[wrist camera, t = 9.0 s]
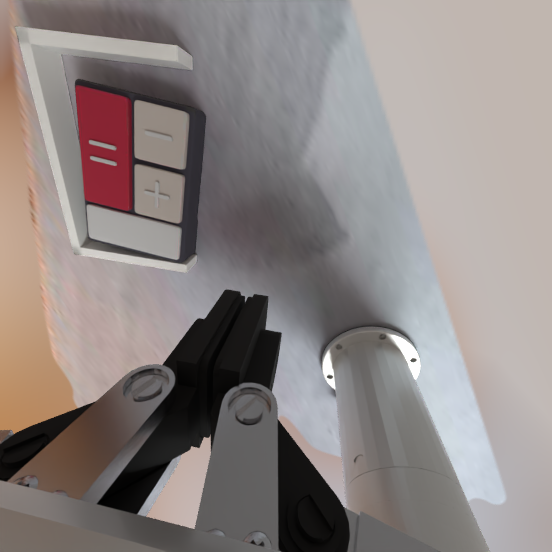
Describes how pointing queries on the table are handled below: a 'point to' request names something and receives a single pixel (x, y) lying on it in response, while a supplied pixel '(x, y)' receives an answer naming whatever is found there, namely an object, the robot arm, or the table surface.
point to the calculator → (140, 170)
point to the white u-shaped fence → (62, 129)
